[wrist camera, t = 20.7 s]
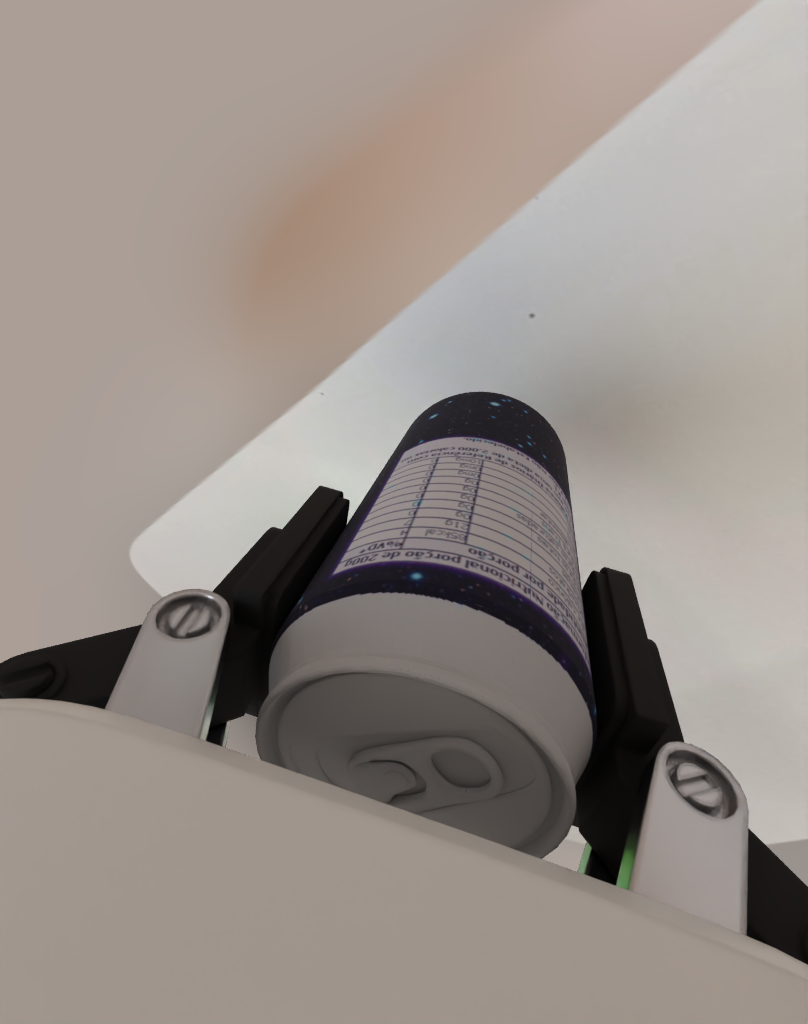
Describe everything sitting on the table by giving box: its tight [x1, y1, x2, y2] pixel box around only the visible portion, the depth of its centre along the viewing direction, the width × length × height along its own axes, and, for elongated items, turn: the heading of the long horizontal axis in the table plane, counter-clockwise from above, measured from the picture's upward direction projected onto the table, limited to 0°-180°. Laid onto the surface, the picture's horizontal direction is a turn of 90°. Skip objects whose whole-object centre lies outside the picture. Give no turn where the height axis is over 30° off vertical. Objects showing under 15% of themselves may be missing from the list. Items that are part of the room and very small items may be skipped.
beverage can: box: [255, 392, 597, 859], centre depth 12 cm, size 6×6×12 cm
